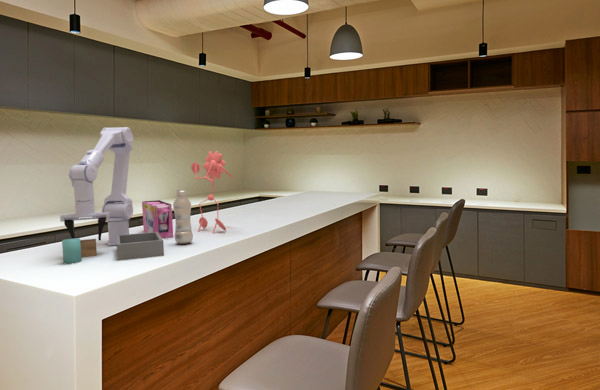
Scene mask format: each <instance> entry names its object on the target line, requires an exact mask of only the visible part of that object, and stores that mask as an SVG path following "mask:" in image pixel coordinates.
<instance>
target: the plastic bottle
mask: <svg viewBox="0 0 600 390" xmlns="http://www.w3.org/2000/svg"><path fill="white" fill-rule="evenodd" d="M176 196H177V197H176V198H175V199H174V200H173V204H172V207H173V211H174V212H173V213H174V219H175V229H174V230H175V232H174V241H175V243H176V244H180V245H185V244H190V243H192V242H193V240H194V234H193V231H192V223H191V213H192V212H191V211H192V203H191V201H190V199H189V198H188V191H187V189H185V190H184V189H182V190H176Z"/></svg>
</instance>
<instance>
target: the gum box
mask: <svg viewBox="0 0 600 390" xmlns="http://www.w3.org/2000/svg"><path fill="white" fill-rule="evenodd" d="M172 207H173V205H172V204H171V203H169V202H166V201H162V200H160V199H158V200H143V201H142V202H141V208H142V225H143V233H149V232H158V233H159V235H160V236H161V238H162V239H169V238H174V227H173V226H174V224H173V210H172Z"/></svg>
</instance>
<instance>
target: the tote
mask: <svg viewBox="0 0 600 390" xmlns="http://www.w3.org/2000/svg"><path fill="white" fill-rule="evenodd" d="M116 240H117V245H116V253H117V261H121V260H122V261H123V260H125V261H126V260H131V259H132V260H133V259H140V258H141V259H142V258H149V257H151V258H152V257H158V256H159V257H160V256H165V250H164V248H165V247H164V238H161V236H160V235H159V233H158V232H149V233H145V232H138V233H129V234H126V235H116Z"/></svg>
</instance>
